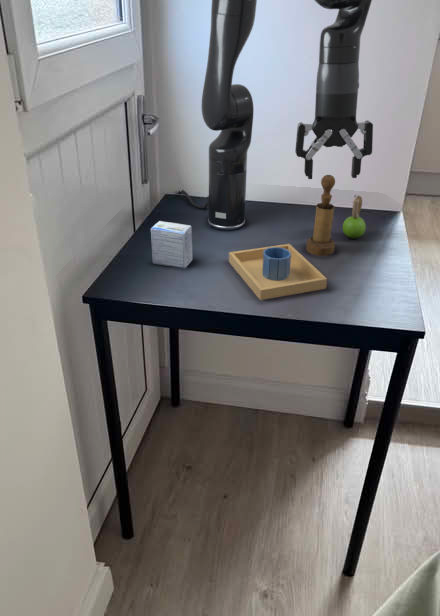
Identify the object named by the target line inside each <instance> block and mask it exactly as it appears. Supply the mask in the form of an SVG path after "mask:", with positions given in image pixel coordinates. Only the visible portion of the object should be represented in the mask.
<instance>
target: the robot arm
mask: <svg viewBox="0 0 440 616" xmlns="http://www.w3.org/2000/svg"><path fill="white" fill-rule="evenodd" d="M372 1H373V0H314V2H315V3H316V4H317V5H319V6H320V7H321V8H323V9H325V10H338V12H337V15H336V18H335V21H334V22H333V23H332V24H330V25H328V26H326V27H324V28H322V29H321V32H320V36H319V48H318V49H319V50H318V65H317V66H318V67H317V72H316V83H315V84H316V85H315V106H314V107H315V108H314V110H315V111H314V120H313V122H312V123H303V122H299V123H298V124H297V127H296V128H297V129H296V138H295V139H296V140H295V152H294V153H295V155H296V157H298V158H303V159H304V175H305V177H307V179H308V180H313V170H314V169H313V168H314V160H313V157H314V156H315V155H316V154H317V152H319V150H321V148H322V147H325V148H331V147H338V148H343V147H344V146H346V145H347V147H348V148H349V149H350V151H351V152H352V154H353V156H352V159H351V171H350V172H351V173H350V176H351V178H352V179H357V177H358V176H359V175H360V174H361V168H362V159H363V158H364V157H366V156H370V155H372V154H373V143H374V141H373V140H374V139H373V137H374V124H373V122H371V121H370V120H365V121H364V122H363V121H362V122H357V110H358V109H357V107H358V96H359V88H360V68H359V67H360V63H359V61H360V50H361V37H362V34H363V31H364V29H365V25H366V21H367V18H368V14H369V11H370V8H371V5H372ZM257 3H258V0H211V6H210V7H211V10H210V32H209V43H208V54H207V63H206V69H205V77H204V81H203V88H202V96H201V116H202V120H203V122H204V123H205V125H206V127H207V128H208V129H209V130H210V131H211V130H212V131H214V132H215V131H216V132H217V131H220V132H219V134H218V135H217V136H216V138H214V139H213V140H212V141H211V143H210V144H209V145H208V195H207V196H206V202H205V204H204V205H200V204H198V203H196V202H194V200H193V198H191V196H190V195H189V194H188V193H187V191H185V190H184V189H181V190H182V191H181V192H180V190H179V191H178V192H177V194H178V195H181V194H182V195H184V196H185V197H186V199H187V200H188V201H189V203H190V204H191V205H192V206H193V207H195V208H197V209H200V210H205V209H207V208H208V217H207V224H208V226H210V227H211V228H213V229H216V230H220V231H233V230H238V229H241V228H243V227H244V226H245V224H246V219H245V218H246V197H247V171H248V170H247V169H248V151H249V149H250V146H251V143H252V135H253V134H252V133H253V123H254V112H255V111H254V101H253V96H252V93H251V92H250V90H249V89H248V88H247V87H246V86H245V85H243V84H239V83H234V84H233V78H234V72H235V66H236V64H237V61H238V60H239V57H240V55H241V53H242V51H243V49H244V47H245V46H246V43H247V41H248V40H249V38H250V35H251V33H252V30H253V28H254V25H255V20H256V13H257V12H256V11H257ZM358 130H359V131H360V134H362V135H363V145H362V146H363V147H362V148H360V149H359V147H358V146H357V144H356V143H355V141H354V140H353V137H354V135H355V133H356V132H357V131H358ZM310 131H312V132H313V134H314V135H315V138H314V139H313V141H311V143H310V145H309V146H308V148H307V149H306V150H305V149H304V144H305V137H307V136H309V133H310Z"/></svg>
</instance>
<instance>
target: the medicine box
mask: <svg viewBox="0 0 440 616" xmlns="http://www.w3.org/2000/svg"><path fill="white" fill-rule="evenodd" d="M192 231H193V229H192V226H191V225H190V224H189V225H188V224H182V223H177V222H168V221H162V220H158V221H157V222H156V223H155V224H154V225H152V227H151V228H150V237H151V238H150V239H151V240H150V241H151V255H152V264H153V265H160V266H164V267H165V266H166V267H178V268H184V269H186V268H187V267H188V266H189V264H190V263H191V262H192V261H193V233H192Z"/></svg>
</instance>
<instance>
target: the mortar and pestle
mask: <svg viewBox="0 0 440 616" xmlns="http://www.w3.org/2000/svg"><path fill="white" fill-rule="evenodd" d="M320 184H321V187H322V189H323V192H322V194H321V197H320V199H321V202H318V203H317V204H316V207H315V215H314V216H315V217H314V224H313V233H312V236H310V237H309V238H308V239H307V240H306V246H305V250H306V252H307V253H309V254H311V255H314V256H318V257H319V256H320V257H325V256H330V255H333V254H334V253H335V247H336V242H335V240H333V239H332V238H331V234H332V229H333V220H334V213H335V205H334V204H333V203H332V204H331V201H332V199H333V195H332V194H331V191H332V190H333V188H334V187H335V185H336V178H335V177H334V175H331V174H325V175H324V176H322V177H321V180H320Z"/></svg>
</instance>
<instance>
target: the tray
mask: <svg viewBox="0 0 440 616" xmlns="http://www.w3.org/2000/svg"><path fill="white" fill-rule="evenodd" d="M272 247H280V248H285V249H287V250H289V251H290V253H291V263H290V274H289V276H288V278H286V279H284V280H280V281H274V280H269V279H267V278H265V277H264V276H263V275H262V261H263V251H264V250H265V249H267V248H272ZM228 262H229V263H230V265H231V266H232V268H233V269H234V270H235V271H236V273H237V274H238V275H239V276H240V277H241V278H242V280H243V281H244V282H245V283H246V285H247V286H248V287H249V288H250V290H251V291H252V292H253V293H254V294H255V295H256V297H257V298H258V299H259V301H264V300H268V299H274V298H280V297H285V296H292V295H297V294H304V293H307V292H308V293H309V292H314V291H320V290H325V289H327V284H328V278H327V277H326V276H325V275H324V274H323V273H322V272H321V271H320V270H318V269H317V267H315V266H314V265H313V264H312V263H311V262H310V261H309V260H308V259H307V258H305V257H304V255H302V254H301V253H300V252H299V251H298V250H297V249H296V248H295V247H294V246H293V245H291V244H290V243H285V244H277V245H269V246H265V247H258V248H257V247H256V248H249V249H244V250H237V251H230V252H228Z"/></svg>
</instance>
